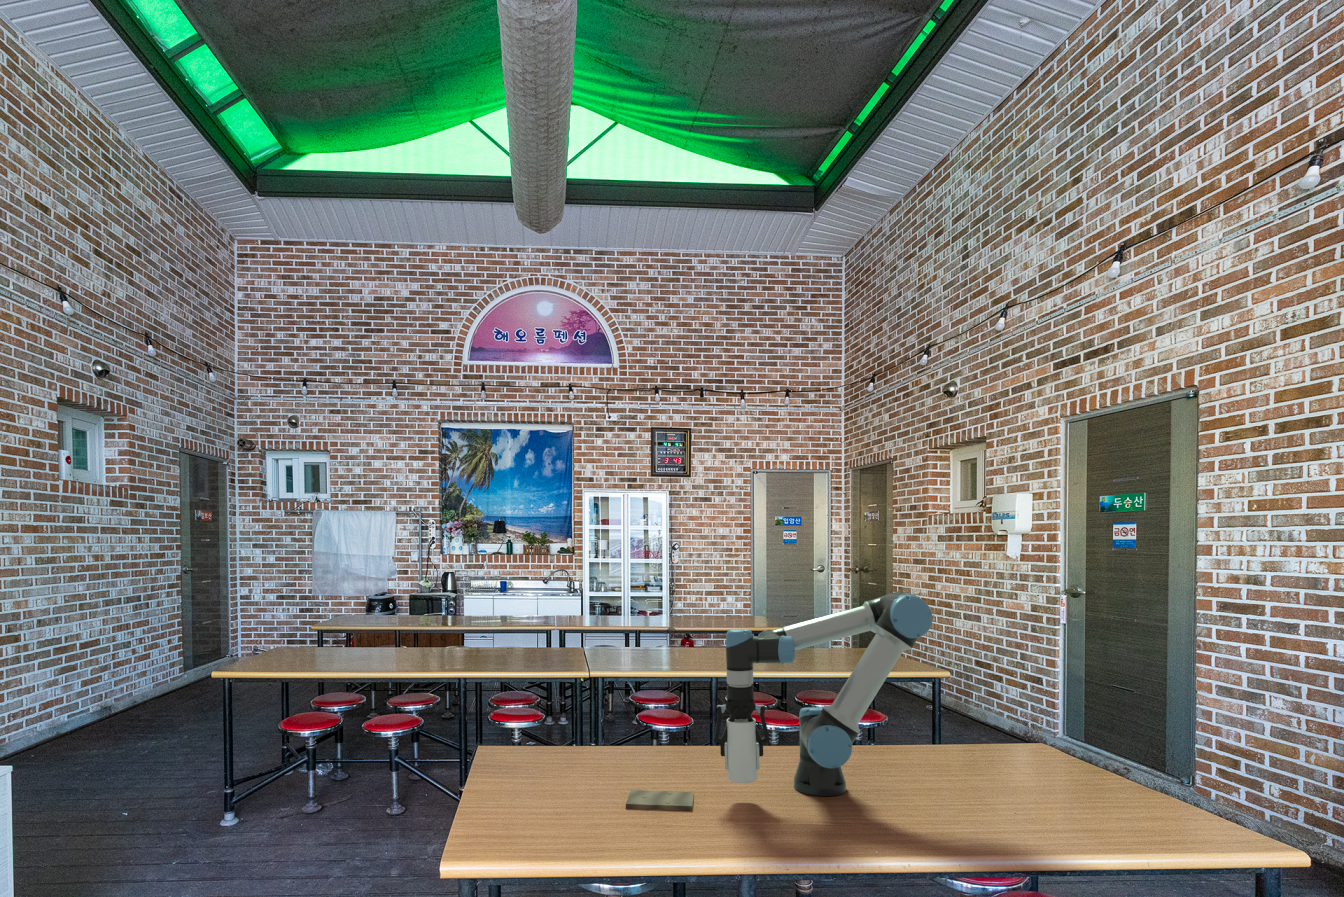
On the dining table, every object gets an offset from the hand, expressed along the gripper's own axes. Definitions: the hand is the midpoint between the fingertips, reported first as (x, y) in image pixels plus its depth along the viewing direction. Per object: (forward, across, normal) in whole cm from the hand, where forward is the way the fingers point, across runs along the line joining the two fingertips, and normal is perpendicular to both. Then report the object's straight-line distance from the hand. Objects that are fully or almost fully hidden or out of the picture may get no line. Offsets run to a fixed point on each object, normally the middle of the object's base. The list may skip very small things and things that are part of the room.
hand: (742, 768), depth 215 cm
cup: (+3, 0, 0) cm, 3 cm away
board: (+8, +23, +3) cm, 25 cm away
